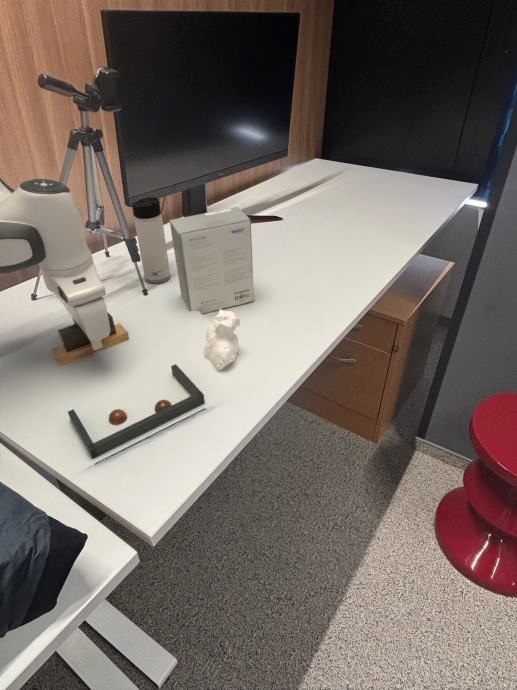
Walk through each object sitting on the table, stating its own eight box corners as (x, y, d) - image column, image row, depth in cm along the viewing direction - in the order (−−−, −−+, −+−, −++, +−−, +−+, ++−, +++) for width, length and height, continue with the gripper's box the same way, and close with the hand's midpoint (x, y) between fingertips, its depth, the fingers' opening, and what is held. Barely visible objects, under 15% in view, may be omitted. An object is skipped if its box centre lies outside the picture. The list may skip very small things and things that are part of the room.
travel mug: (161, 286, 116) (148, 207, 104) (139, 280, 119) (124, 201, 106) (176, 275, 120) (166, 197, 108) (155, 269, 123) (143, 192, 111)
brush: (62, 371, 92) (52, 342, 87) (55, 361, 94) (45, 331, 90) (130, 344, 98) (124, 315, 94) (122, 335, 101) (115, 306, 96)
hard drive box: (242, 286, 116) (239, 206, 103) (255, 301, 110) (252, 219, 98) (180, 300, 111) (168, 218, 99) (189, 317, 105) (178, 233, 93)
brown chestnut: (103, 412, 80) (110, 428, 81) (108, 415, 78) (115, 432, 78) (120, 404, 82) (127, 420, 82) (125, 407, 79) (132, 424, 80)
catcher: (94, 464, 74) (89, 450, 72) (72, 426, 81) (67, 411, 79) (205, 409, 83) (203, 394, 81) (178, 378, 90) (175, 363, 88)
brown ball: (156, 407, 79) (149, 402, 82) (161, 422, 80) (154, 417, 83) (172, 399, 81) (165, 394, 83) (177, 414, 82) (170, 409, 84)
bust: (230, 385, 91) (265, 342, 87) (197, 373, 87) (231, 327, 83) (218, 348, 100) (248, 307, 96) (187, 335, 96) (217, 291, 92)
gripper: (34, 256, 90) (55, 316, 99) (71, 303, 77) (91, 368, 86) (67, 246, 93) (84, 306, 102) (108, 291, 80) (124, 355, 89)
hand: (88, 335), depth 94 cm, fingers open, 8 cm apart
